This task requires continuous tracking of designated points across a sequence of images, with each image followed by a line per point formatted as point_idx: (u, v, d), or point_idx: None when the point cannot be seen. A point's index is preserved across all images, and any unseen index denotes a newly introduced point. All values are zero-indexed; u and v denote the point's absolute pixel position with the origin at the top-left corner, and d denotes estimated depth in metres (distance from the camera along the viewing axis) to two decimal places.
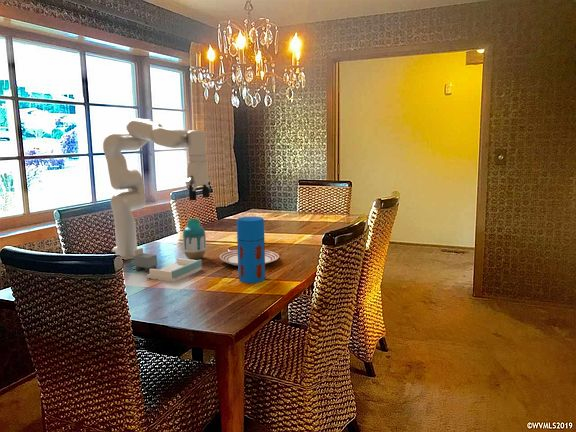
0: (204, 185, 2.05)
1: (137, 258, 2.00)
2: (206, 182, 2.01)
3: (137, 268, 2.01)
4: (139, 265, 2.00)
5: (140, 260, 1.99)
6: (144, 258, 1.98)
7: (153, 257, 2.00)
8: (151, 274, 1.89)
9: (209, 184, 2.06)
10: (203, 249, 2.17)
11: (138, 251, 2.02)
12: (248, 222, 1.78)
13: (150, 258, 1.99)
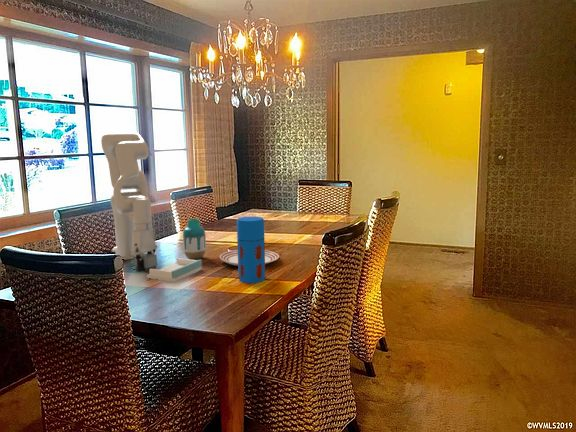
0: (149, 253, 2.05)
1: None
2: (152, 248, 2.02)
3: (137, 268, 2.01)
4: None
5: None
6: (144, 258, 1.98)
7: (153, 257, 2.00)
8: (151, 274, 1.89)
9: (154, 251, 2.05)
10: (203, 249, 2.17)
11: None
12: (248, 222, 1.78)
13: (150, 258, 1.99)
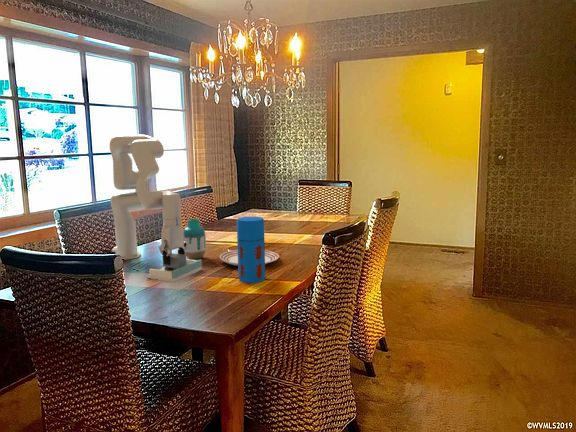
0: (180, 246, 1.99)
1: None
2: (181, 244, 1.95)
3: (166, 269, 1.94)
4: (168, 265, 1.93)
5: None
6: (174, 258, 1.91)
7: (183, 257, 1.94)
8: (151, 274, 1.89)
9: (185, 245, 2.00)
10: (203, 249, 2.17)
11: None
12: (248, 222, 1.78)
13: (180, 258, 1.92)
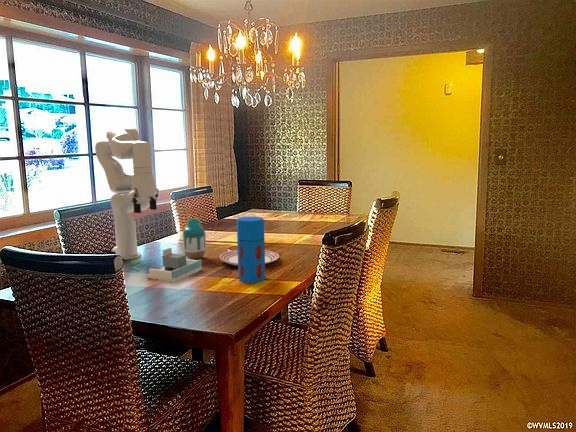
0: (151, 197, 2.01)
1: (166, 258, 1.93)
2: (152, 194, 1.97)
3: (166, 269, 1.94)
4: (168, 265, 1.93)
5: (169, 260, 1.92)
6: (174, 258, 1.91)
7: (183, 257, 1.94)
8: (151, 274, 1.89)
9: (157, 196, 2.02)
10: (203, 249, 2.17)
11: (167, 251, 1.95)
12: (248, 222, 1.78)
13: (180, 258, 1.92)
